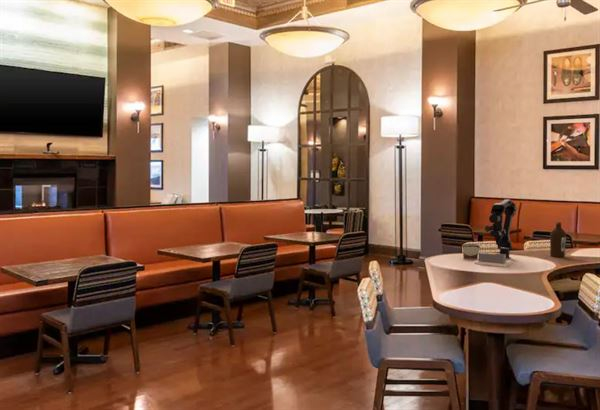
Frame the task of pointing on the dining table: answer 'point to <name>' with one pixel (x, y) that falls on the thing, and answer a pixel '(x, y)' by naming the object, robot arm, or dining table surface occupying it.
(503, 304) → the dining table surface
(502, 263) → the grey block on base
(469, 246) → the food container
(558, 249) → the olive oil
